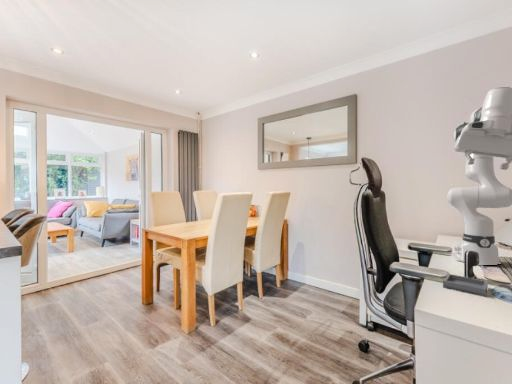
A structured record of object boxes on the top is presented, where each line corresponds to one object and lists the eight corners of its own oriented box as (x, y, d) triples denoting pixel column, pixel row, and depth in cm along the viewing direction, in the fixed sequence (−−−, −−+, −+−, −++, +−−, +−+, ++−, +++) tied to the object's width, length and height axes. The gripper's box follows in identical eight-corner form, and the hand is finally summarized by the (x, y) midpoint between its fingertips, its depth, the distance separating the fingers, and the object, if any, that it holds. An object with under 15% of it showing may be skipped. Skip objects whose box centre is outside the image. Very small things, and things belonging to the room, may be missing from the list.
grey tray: (448, 279, 100) (448, 273, 100) (487, 287, 92) (487, 281, 92) (443, 287, 92) (443, 280, 92) (485, 296, 84) (485, 289, 84)
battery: (476, 282, 98) (476, 253, 98) (463, 280, 101) (464, 251, 101) (479, 278, 102) (479, 251, 102) (467, 276, 105) (467, 249, 105)
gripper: (526, 137, 87) (520, 174, 86) (456, 130, 95) (449, 164, 94) (539, 129, 81) (532, 169, 80) (463, 122, 89) (455, 158, 88)
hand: (486, 166), depth 87 cm, fingers open, 8 cm apart
